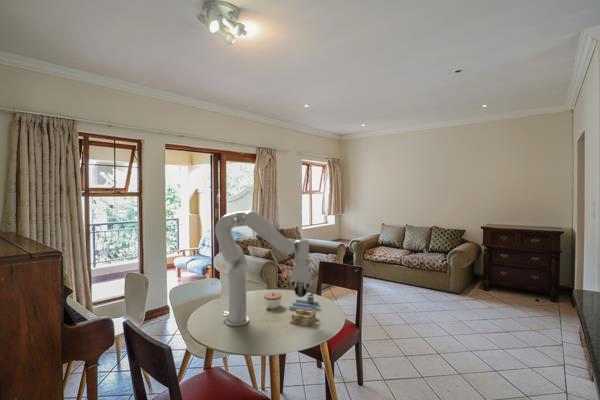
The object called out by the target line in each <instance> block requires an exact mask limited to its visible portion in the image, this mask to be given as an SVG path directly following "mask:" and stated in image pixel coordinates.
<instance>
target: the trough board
mask: <svg viewBox="0 0 600 400" xmlns="http://www.w3.org/2000/svg"><path fill="white" fill-rule="evenodd" d="M319 307H320V302H319V301H315V300H313V305H310V304H307V300H306V299H299V298H296V299H295V301H293V302H292V305H289V306H288V310H290V311H296V310H297V309H300V310H307V311H314V312H317V310H318V309H319Z"/></svg>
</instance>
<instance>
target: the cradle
mask: <svg viewBox="0 0 600 400" xmlns="http://www.w3.org/2000/svg"><path fill="white" fill-rule="evenodd" d="M316 312H317V311H315V312H314V311H307V310H300V309H297V310H295V313H292V314H291V319H290V321H289V324H292V325H293V324H295V325H300V326H306V327H312V325H313V324H314V322H315V320H316V318H317V315H316V314H317V313H316ZM299 314H301V315H299ZM306 315H308V316H306Z"/></svg>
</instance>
